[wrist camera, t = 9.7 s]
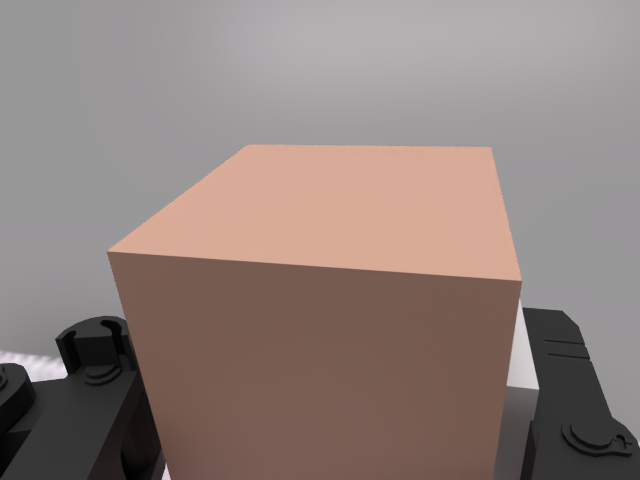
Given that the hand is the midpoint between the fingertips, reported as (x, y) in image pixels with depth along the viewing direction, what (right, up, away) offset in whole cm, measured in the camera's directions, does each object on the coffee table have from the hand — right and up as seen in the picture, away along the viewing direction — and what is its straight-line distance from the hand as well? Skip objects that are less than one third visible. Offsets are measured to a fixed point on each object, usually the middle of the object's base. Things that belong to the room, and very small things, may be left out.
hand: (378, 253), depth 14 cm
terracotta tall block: (-1, -8, -2) cm, 8 cm away
